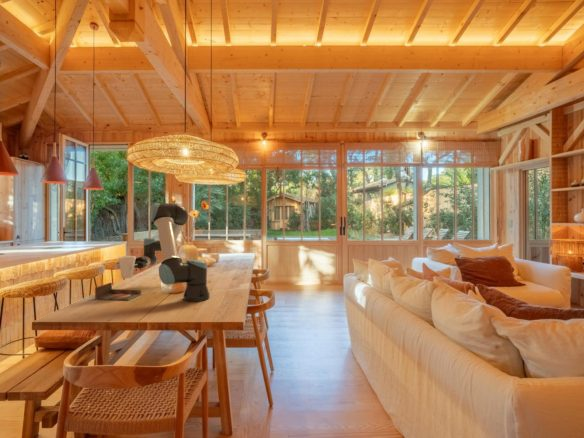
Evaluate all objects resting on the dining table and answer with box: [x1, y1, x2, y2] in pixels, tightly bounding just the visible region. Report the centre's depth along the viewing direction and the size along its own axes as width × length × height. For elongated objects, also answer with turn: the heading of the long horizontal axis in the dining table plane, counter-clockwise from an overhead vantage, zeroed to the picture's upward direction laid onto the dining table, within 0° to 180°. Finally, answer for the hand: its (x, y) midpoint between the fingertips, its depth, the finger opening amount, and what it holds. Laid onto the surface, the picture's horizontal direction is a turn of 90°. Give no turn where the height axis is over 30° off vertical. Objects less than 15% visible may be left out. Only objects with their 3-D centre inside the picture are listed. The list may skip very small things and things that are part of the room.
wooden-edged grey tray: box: [94, 282, 142, 302], centre depth 199 cm, size 20×14×7 cm
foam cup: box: [118, 255, 137, 279], centre depth 206 cm, size 10×9×13 cm
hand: (123, 267), depth 201 cm, fingers closed on foam cup, 9 cm apart
